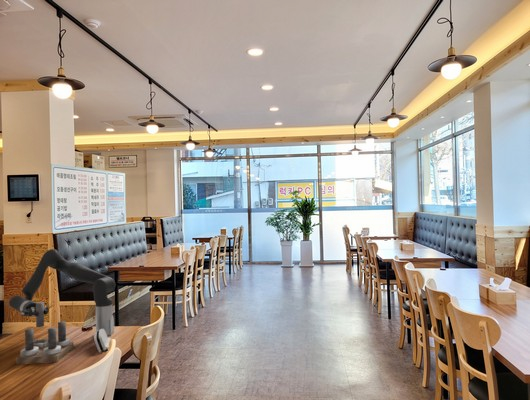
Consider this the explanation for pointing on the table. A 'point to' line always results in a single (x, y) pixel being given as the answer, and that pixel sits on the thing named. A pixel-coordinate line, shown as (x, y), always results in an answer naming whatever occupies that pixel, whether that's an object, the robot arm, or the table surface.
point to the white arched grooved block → (101, 340)
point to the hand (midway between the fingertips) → (42, 313)
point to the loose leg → (40, 314)
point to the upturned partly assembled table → (45, 346)
